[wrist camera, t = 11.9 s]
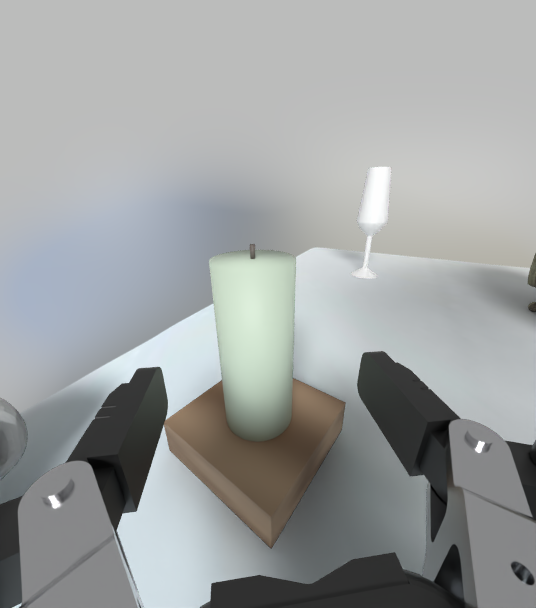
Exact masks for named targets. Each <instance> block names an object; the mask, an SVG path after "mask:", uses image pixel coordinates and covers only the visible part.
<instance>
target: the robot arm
mask: <svg viewBox="0 0 536 608" xmlns="http://www.w3.org/2000/svg"><path fill="white" fill-rule="evenodd" d="M357 387H358V393H359V396H360V398H361V400H362V401H363V403H364V404H365V406H366V407H367V409H368V411H369V412H370V414H371V415H372V417H373V419H374V420H375V422H376V423H377V425H378V426H379V428H380V430H381V431H382V433H383V434H384V436H385V437H386V439H387V441H388V442H389V444H390V445H391V447H392V449H393V450H394V452H395V453H396V455H397V456H398V458H399V460H400V461H401V463H402V464H403V466H404V467H405V469H406V471H407V472H408V474H409V475H410V476H418V475H425V477H426V478H427V479H428V484H427V489H426V554H425V560H424V565H423V571H422V576H421V575H419V574H416V573H413V572H410V571H407V570H403V569H402V567H401V565H400V562H399V560H398V558H397V556H396V554H395V552H394V553H388V554H382V555H377V556H371V557H365V558H359V559H353V560H351V561H349V562H348V563H346V564H344V565H343V566H341V567H340V568H338V569H336V570H335V571H333V572H331V573H330V574H328V575H326V576H325V577H323V578H321V579H320V580H318V581H316V582H315V583H312V584H303V583H297V582H292V581H287V580H282V579H277V578H272V577H266V576H261V575H257V576H252V577H246V578H240V579H234V580H228V581H222V582H216V583H212V584H211V601H210V602H208V603H206V604H204V605H203V606H201V607H200V608H536V440H535V442H534V444H533V445H527V444H521V443H516V442H510V441H504V440H503V439H502V438H501V437H500V436H499V435H498V434H497V433H495V432H494V431H493V430H491V429H490V428H488V427H486V426H484V425H482V424H480V423H477V422H474V421H471V420H466V419H460V418H459V417H458V416H457V415H456V414H455V413H454V412H453V411H452V410H451V409H450V408H449V407H448V406H447V405H446V404H445V403H444V402H443V401H442V400H441V399H440V398H439V397H438V396H437V395H436V394H435V393H434V392H433V391H432V390H431V389H428V387H427V386H426V385H425V384H424V383H423V382H422V381H420V379H419V378H418V377H417V376H416V375H415V374H414V373H413V372H412V371H411V370H410V369H408V368H406V367H404V366H403V365H401V364H399V363H395V362H394V361H393V360H392V359H391V358H390V357H389V356H388V355H387V354H386V353H385V352H383V351H379V352H365V353H363V355H362V358H361V364H360V370H359V376H358V383H357ZM167 409H168V399H167V394H166V389H165V384H164V379H163V374H162V370H161V368H160V367H152V368H139V369H137V370H136V372H135V374H134V375H133V377H132V379H131V381H130V382H129V383H124V384H121V385H120V386H119V387H117V388H116V389H115V390H114V391H113V392H112V393H110V394H109V396H108V397H107V399H106V400H105V402H104V403H103V405H102V408H101V409H100V410H99V411H98V413H97V414H96V416H95V419H94V420H93V421H92V422H91V424H90V425H89V427H88V429H87V430H86V432H85V433H84V435H83V436H82V438H81V439H80V441H79V443H78V444H77V446H76V447H75V449H74V450H73V452H72V454H71V455H70V457H69V458H68V460H67V461H66V463H64V464H62V465H59V466H57V467H55V468H53V469H52V470H50V471H48V472H47V473H45V474H44V475H42V476H41V477H40V478H39V479H38V480H36V481H35V482H34V483H33V484H32V485H31V486H30V488H29V489H28V490H27V491H26V493H25V494H24V495H23V496H21V497H19V498H16V499H13V500H11V501H8V502H6V503H3V504H0V608H12V607H14V606H16V605H18V604H20V603H22V605H21V607H19V608H144V606H143V603H142V601H141V598H140V595H139V592H138V589H137V587H136V584H135V581H134V578H133V575H132V572H131V569H130V567H129V564H128V561H127V558H126V555H125V552H124V549H123V547H122V544H121V541H120V538H119V535H118V532H117V527H118V525H119V522H120V519H121V516H122V513H129V512H136V511H137V508H138V505H139V502H140V499H141V495H142V492H143V489H144V486H145V483H146V479H147V476H148V473H149V470H150V467H151V463H152V460H153V457H154V454H155V451H156V448H157V444H158V441H159V438H160V435H161V432H162V428H163V425H164V422H165V419H166V415H167Z"/></svg>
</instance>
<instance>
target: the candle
mask: <svg viewBox="0 0 536 608" xmlns="http://www.w3.org/2000/svg"><path fill="white" fill-rule="evenodd" d="M209 265H210V274H211V284H212V292H213V302H214V311H215V320H216V329H217V338H218V347H219V356H220V365H221V374H222V383H223V392H224V401H225V410H226V419H227V424H228V426H229V428H230V429H231V431H232V432H233V433H234V434H236V435H237V436H238V437H240V438H242V439H245V440H248V441H256V442H259V441H267V440H270V439H273V438H275V437H277V436H279V435H280V434H282V433H283V432H284V431H285V430H286V429H287V427H288V426H289V424H290V421H291V417H292V386H293V350H294V313H295V277H296V257H295V256H294V255H292V254H289V253H285V252H280V251H273V250H255V244H250V250H243V251H234V252H228V253H223V254H219V255H216V256H214V257H212V258H211V259H210V260H209Z"/></svg>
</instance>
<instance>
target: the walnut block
mask: <svg viewBox="0 0 536 608" xmlns="http://www.w3.org/2000/svg"><path fill="white" fill-rule="evenodd" d="M345 404H346V403H345V402H343V401H341V400H339V399H337V398H335V397H332V396H330V395H328V394H326V393H324V392H322V391H320V390H317V389H315V388H313V387H311V386H309V385H307V384H305V383H303V382H300V381H298V380H296V379H294V378H293V386H292V417H291V421H290V424H289V426H288V427H287V429H286V430H285V431H284V432H283V433H282V434H280V435H279V436H277V437H275V438H273V439H270V440H267V441H259V442H256V441H248V440H245V439H242V438H240V437H238V436H237V435H236V434H234V433H233V432H232V431H231V429H230V428H229V426H228V424H227V419H226V410H225V401H224V392H223V383H222V380H221V381H220V382H219V383H217V384H216V385H214V386H213V387H212V388H210V389H209V390H207V391H206V392H205V393H203V394H202V395H200V396H199V397H198V398H196V399H195V400H193V401H192V402H191V403H189V404H188V405H186V406H185V407H184V408H182V409H181V410H179V411H178V412H177V413H175V414H174V415H172V416H171V417H170V418H168V419H167V420H165V422H164V427H165V431H166V436H167V440H168V445H169V449H170V451H171V452H172V453H173V454H174V455H175V456H176V457H177V458H178V459H179V460H180V461H181V462H182V463H183V464H184V465H185V466H187V467H188V468H189V469H190V470H191V471H192V472H193V473H194V474H195V475H196V476H197V477H198V478H199V479H200V480H201V481H202V482H203V483H204V484H205V485H206V486H207V487H208V488H209V489H210V490H211V491H212V492H213V493H214V494H215V495H216V496H217V497H218V498H219V499H221V500H222V501H223V502H224V503H225V504H226V505H227V506H228V507H229V508H230V509H231V510H232V511H233V512H234V513H235V514H236V515H237V516H238V517H239V518H240V519H241V520H242V521H243V522H244V523H245V524H246V525H247V526H248V527H249V528H250V529H251V530H252V531H253V532H255V533H256V534H257V535H258V536H259V537H260V538H261V539H262V540H263V541H264V542H265V543H266V544H267V545H268V546H269V547H270V548H272V547H273V545H274V543H275V542H276V540H277V538H278V537H279V535H280V533H281V532H282V530H283V528H284V526H285V525H286V523H287V521H288V520H289V518H290V516H291V515H292V513H293V511H294V510H295V508H296V506H297V504H298V503H299V501H300V499H301V498H302V496H303V494H304V493H305V491H306V489H307V488H308V486H309V484H310V482H311V481H312V479H313V477H314V476H315V474H316V472H317V471H318V469H319V467H320V466H321V464H322V462H323V460H324V459H325V457H326V455H327V454H328V452H329V450H330V449H331V447H332V445H333V444H334V442H335V440H336V438H337V437H338V435H339V433H340V432H341V430H342V424H343V417H344V410H345Z"/></svg>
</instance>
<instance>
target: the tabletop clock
mask: <svg viewBox="0 0 536 608" xmlns="http://www.w3.org/2000/svg"><path fill="white" fill-rule="evenodd" d="M528 284H529V285H530V286H533V287H536V254H535V256H534V259H533V262H532V265H531V268H530V272H529V276H528ZM528 308H529V310H531V311H534V312H536V302H532V303H530V304H529V305H528Z"/></svg>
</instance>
